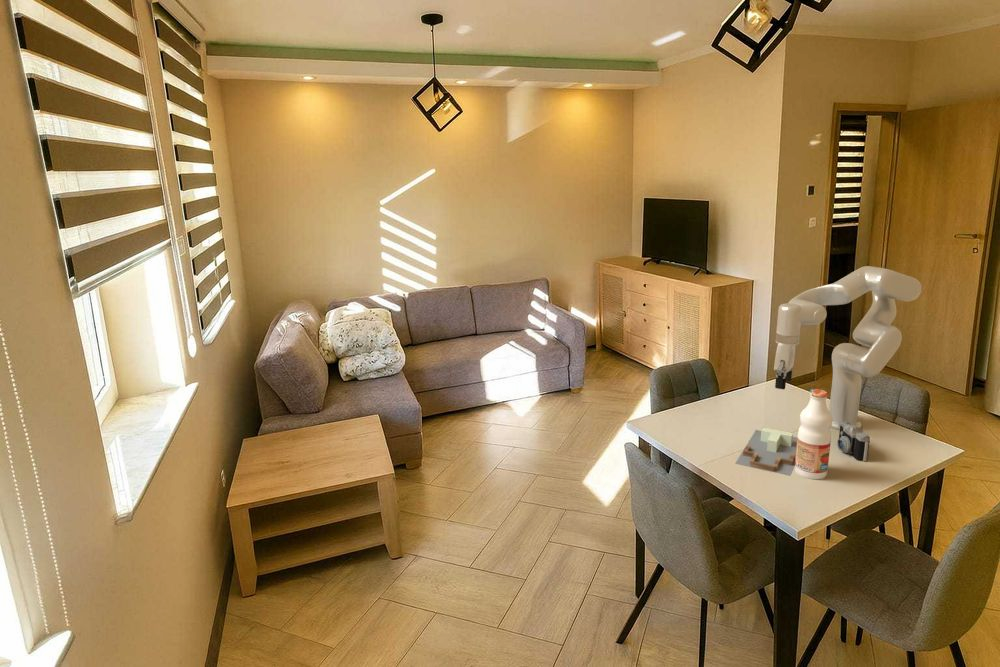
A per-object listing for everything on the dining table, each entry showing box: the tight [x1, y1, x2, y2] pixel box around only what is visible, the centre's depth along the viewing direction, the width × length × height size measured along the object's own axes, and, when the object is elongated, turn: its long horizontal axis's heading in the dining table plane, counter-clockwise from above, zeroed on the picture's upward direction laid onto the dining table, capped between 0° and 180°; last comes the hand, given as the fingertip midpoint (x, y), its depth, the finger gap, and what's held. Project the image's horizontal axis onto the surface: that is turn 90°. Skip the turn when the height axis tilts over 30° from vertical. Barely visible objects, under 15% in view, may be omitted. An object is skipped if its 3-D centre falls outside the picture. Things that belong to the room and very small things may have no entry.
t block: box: [760, 427, 794, 452], centre depth 214 cm, size 10×10×4 cm
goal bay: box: [742, 444, 795, 473], centre depth 204 cm, size 13×15×2 cm
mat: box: [734, 429, 797, 477], centre depth 211 cm, size 31×17×1 cm, turn 146°
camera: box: [837, 421, 871, 462], centre depth 207 cm, size 15×7×10 cm, turn 178°
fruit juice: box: [794, 388, 832, 480], centre depth 192 cm, size 9×9×28 cm
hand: (783, 384), depth 218 cm, fingers open, 9 cm apart
